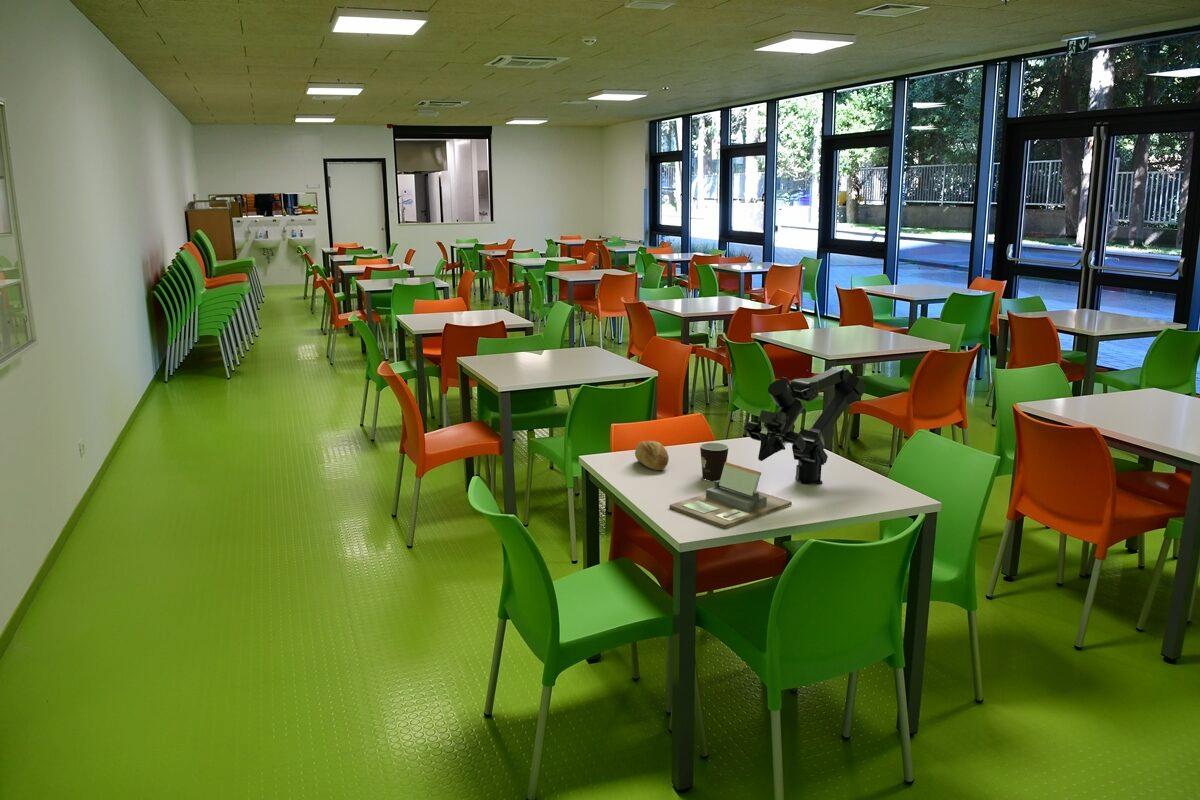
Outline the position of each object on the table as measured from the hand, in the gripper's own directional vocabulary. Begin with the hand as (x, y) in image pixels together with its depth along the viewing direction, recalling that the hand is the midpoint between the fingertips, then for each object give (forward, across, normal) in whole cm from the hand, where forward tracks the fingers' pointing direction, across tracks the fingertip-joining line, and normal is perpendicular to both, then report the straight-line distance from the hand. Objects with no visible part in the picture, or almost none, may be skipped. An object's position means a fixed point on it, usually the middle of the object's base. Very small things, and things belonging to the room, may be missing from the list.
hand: (759, 460), depth 245 cm
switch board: (+16, 0, 0) cm, 16 cm away
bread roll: (+9, -42, +7) cm, 43 cm away
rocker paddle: (+12, 0, -2) cm, 12 cm away
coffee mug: (+4, -22, +12) cm, 25 cm away
